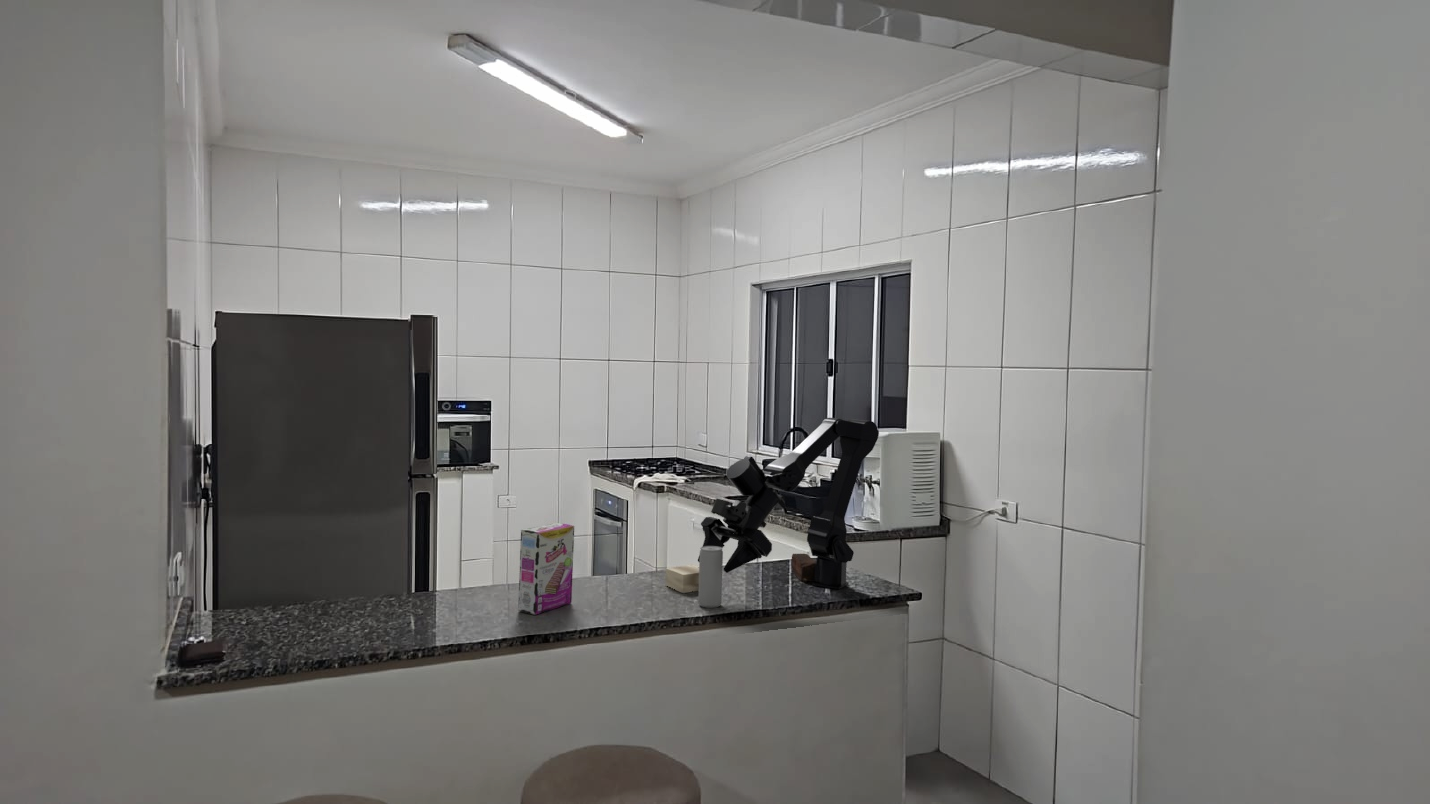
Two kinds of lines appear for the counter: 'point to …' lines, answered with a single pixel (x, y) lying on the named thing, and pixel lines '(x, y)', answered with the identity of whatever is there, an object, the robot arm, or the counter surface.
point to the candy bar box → (546, 568)
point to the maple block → (683, 578)
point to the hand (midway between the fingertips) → (711, 566)
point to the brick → (803, 567)
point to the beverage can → (710, 576)
